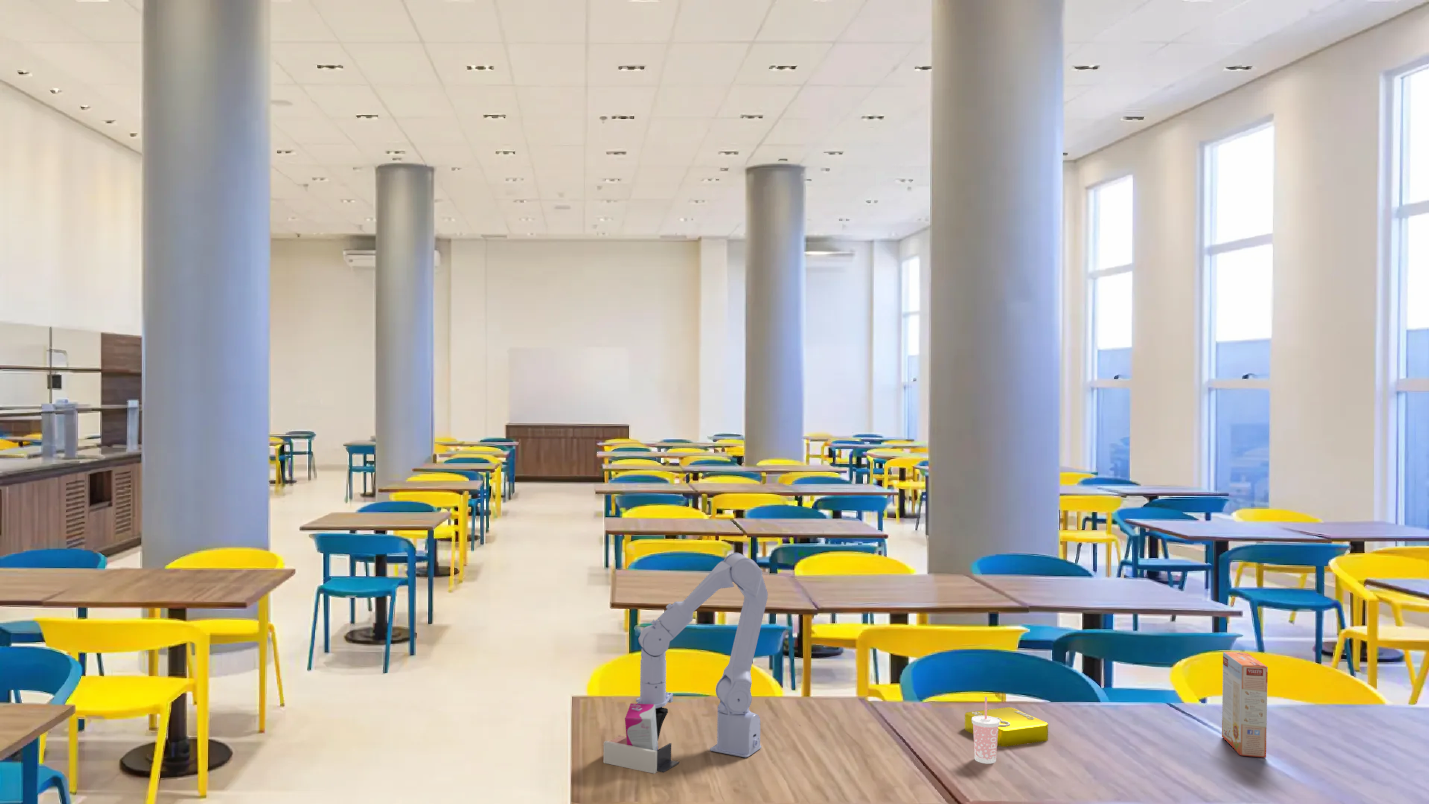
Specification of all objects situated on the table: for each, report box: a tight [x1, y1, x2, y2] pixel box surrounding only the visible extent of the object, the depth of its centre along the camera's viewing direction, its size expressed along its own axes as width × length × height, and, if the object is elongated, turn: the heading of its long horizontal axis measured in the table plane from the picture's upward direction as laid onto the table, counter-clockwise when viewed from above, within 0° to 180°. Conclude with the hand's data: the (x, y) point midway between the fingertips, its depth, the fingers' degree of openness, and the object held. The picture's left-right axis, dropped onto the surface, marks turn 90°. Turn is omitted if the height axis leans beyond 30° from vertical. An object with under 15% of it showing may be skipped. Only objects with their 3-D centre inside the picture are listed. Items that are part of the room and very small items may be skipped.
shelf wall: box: [603, 740, 658, 774], centre depth 214 cm, size 13×1×4 cm, turn 62°
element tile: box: [964, 706, 1049, 748], centre depth 240 cm, size 15×15×5 cm
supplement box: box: [624, 702, 659, 751], centre depth 217 cm, size 6×6×12 cm
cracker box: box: [1221, 651, 1269, 759], centre depth 232 cm, size 14×6×21 cm, turn 168°
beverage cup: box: [972, 696, 1000, 765], centre depth 222 cm, size 6×6×14 cm
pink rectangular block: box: [609, 735, 627, 745], centre depth 221 cm, size 2×6×4 cm, turn 152°
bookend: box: [657, 742, 680, 773], centre depth 215 cm, size 2×6×4 cm, turn 152°
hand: (652, 741), depth 222 cm, fingers closed
